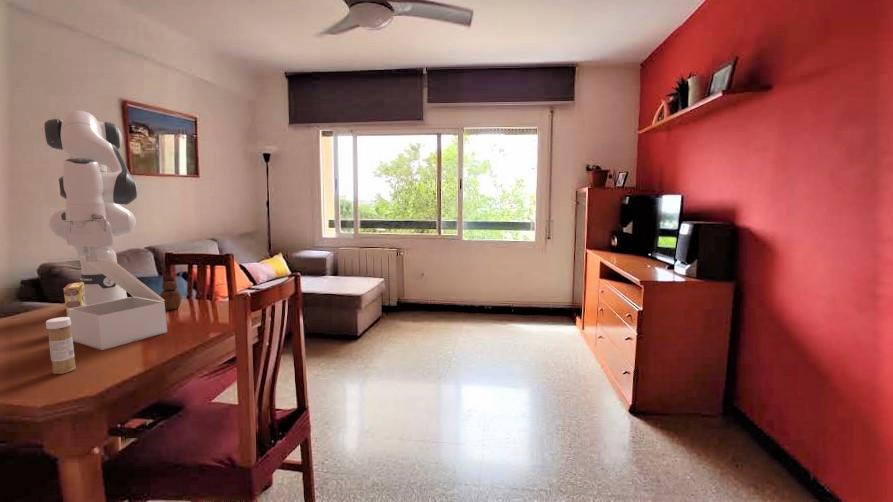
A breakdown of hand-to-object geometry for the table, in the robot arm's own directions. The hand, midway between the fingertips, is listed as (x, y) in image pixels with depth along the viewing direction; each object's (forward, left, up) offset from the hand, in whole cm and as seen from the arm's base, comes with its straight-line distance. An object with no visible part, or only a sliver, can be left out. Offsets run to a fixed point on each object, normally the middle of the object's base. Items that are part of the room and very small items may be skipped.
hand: (91, 261), depth 128 cm
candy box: (-19, +2, -25) cm, 31 cm away
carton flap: (0, +7, -7) cm, 10 cm away
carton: (0, +5, -24) cm, 25 cm away
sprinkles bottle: (+18, -16, -25) cm, 34 cm away
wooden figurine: (-20, +32, -25) cm, 45 cm away
